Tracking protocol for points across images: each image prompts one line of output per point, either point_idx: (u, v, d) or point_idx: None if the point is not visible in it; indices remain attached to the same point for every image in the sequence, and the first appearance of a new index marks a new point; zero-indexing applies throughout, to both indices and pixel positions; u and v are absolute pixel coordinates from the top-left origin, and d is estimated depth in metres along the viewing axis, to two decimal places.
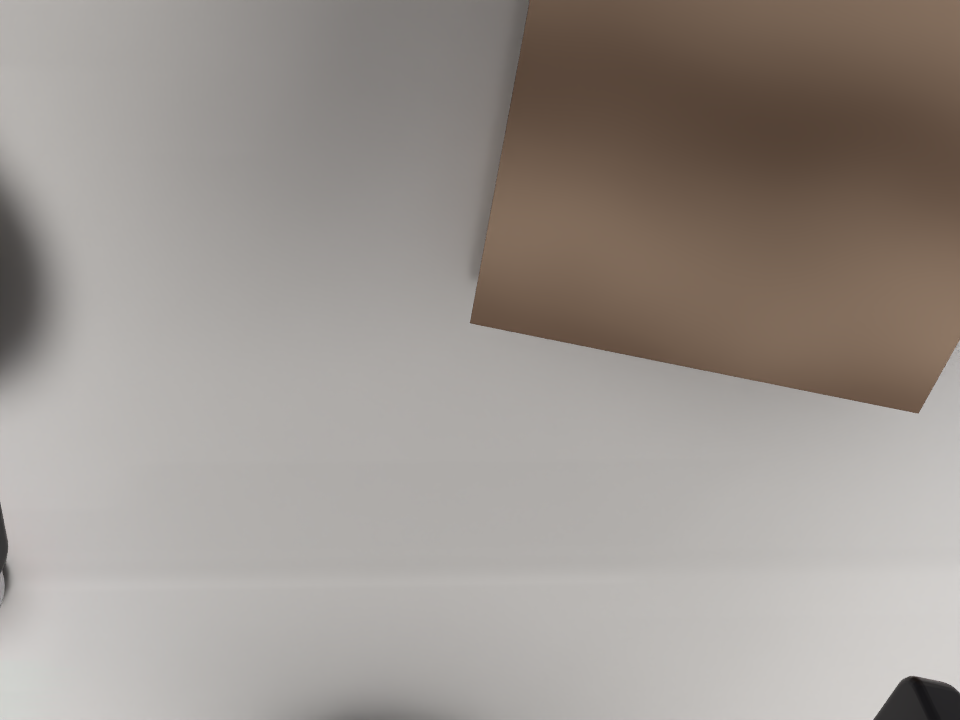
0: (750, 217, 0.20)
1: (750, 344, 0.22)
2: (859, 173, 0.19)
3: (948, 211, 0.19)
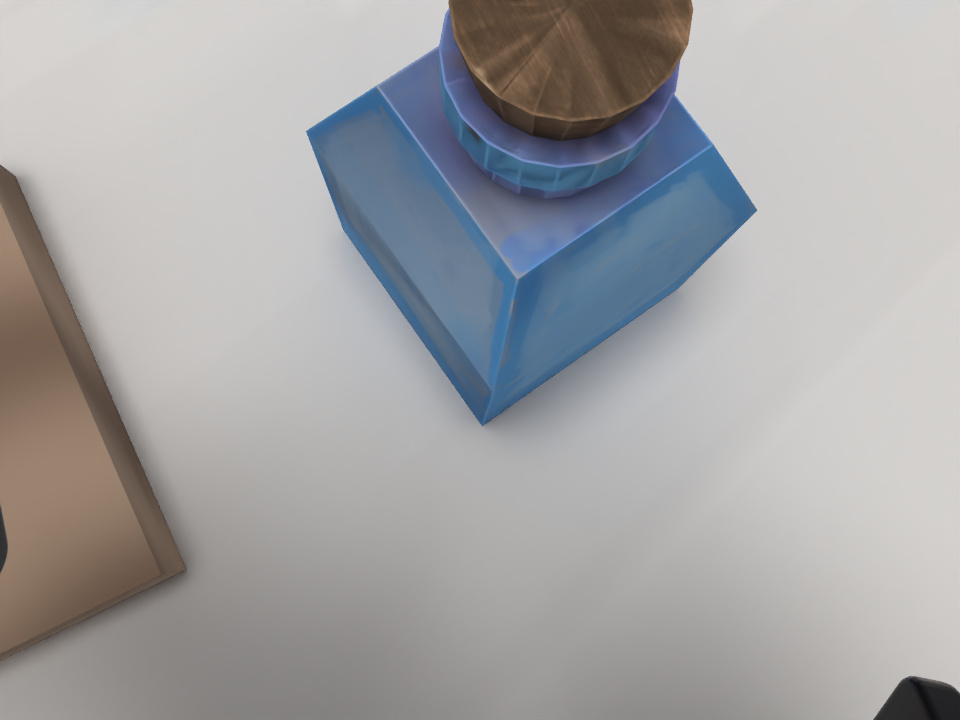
0: None
1: None
2: None
3: (6, 400, 0.21)
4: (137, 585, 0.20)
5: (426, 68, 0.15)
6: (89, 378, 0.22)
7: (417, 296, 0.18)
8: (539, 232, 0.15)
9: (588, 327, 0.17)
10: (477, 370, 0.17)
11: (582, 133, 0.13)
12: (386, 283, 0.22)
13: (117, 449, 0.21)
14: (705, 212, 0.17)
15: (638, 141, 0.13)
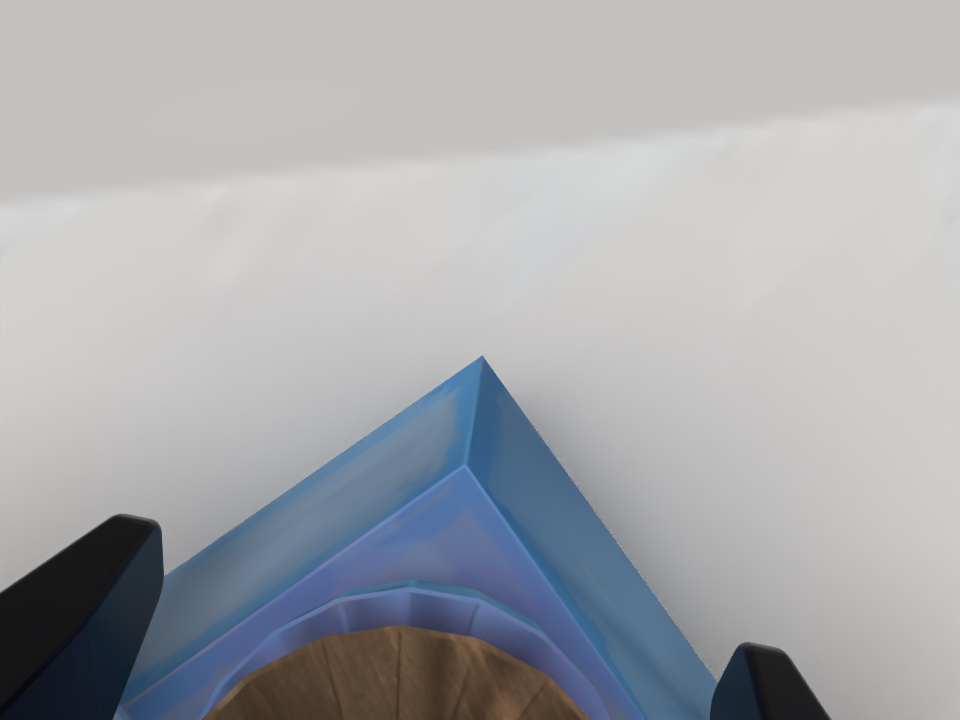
0: None
1: None
2: None
3: None
4: None
5: (210, 669, 0.09)
6: None
7: None
8: None
9: None
10: None
11: None
12: None
13: None
14: None
15: None
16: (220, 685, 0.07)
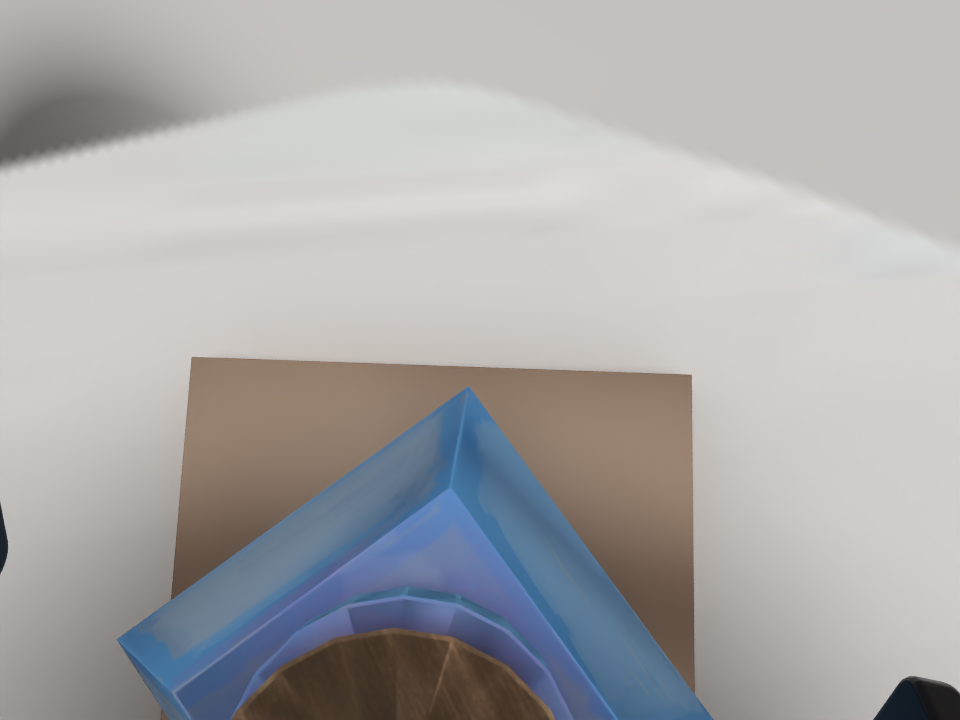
0: None
1: None
2: None
3: None
4: None
5: (243, 660, 0.11)
6: None
7: None
8: None
9: None
10: None
11: None
12: None
13: None
14: None
15: None
16: (256, 674, 0.09)
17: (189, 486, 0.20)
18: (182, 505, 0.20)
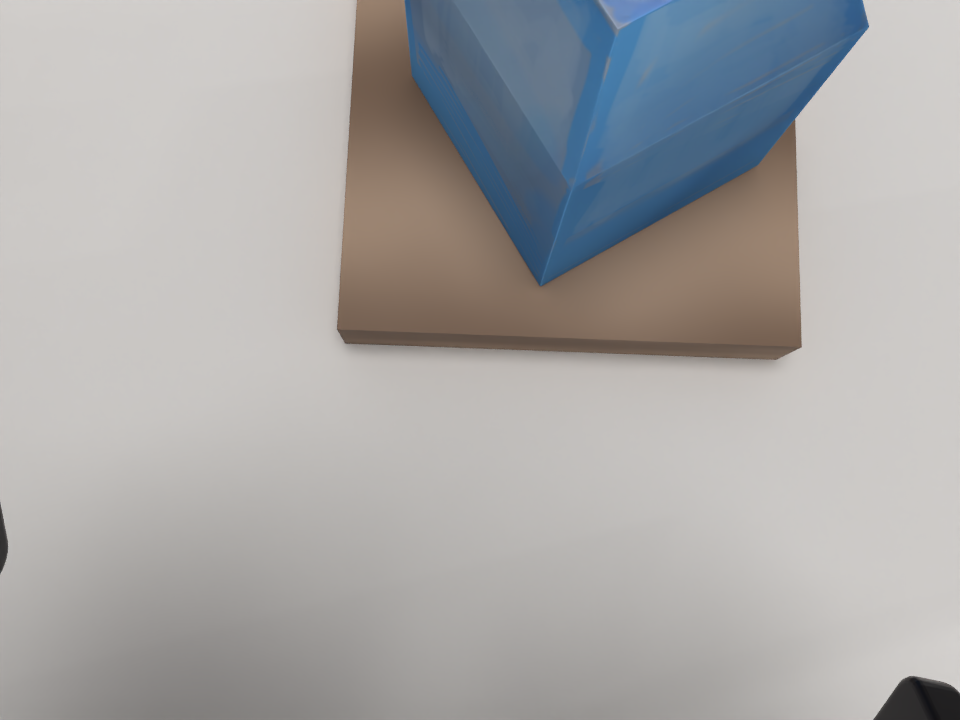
0: None
1: (616, 300, 0.22)
2: None
3: None
4: (778, 345, 0.22)
5: None
6: None
7: (495, 95, 0.17)
8: None
9: (678, 129, 0.16)
10: (556, 162, 0.16)
11: None
12: (454, 123, 0.21)
13: None
14: (817, 8, 0.15)
15: None
16: None
17: (364, 8, 0.23)
18: (358, 22, 0.23)
